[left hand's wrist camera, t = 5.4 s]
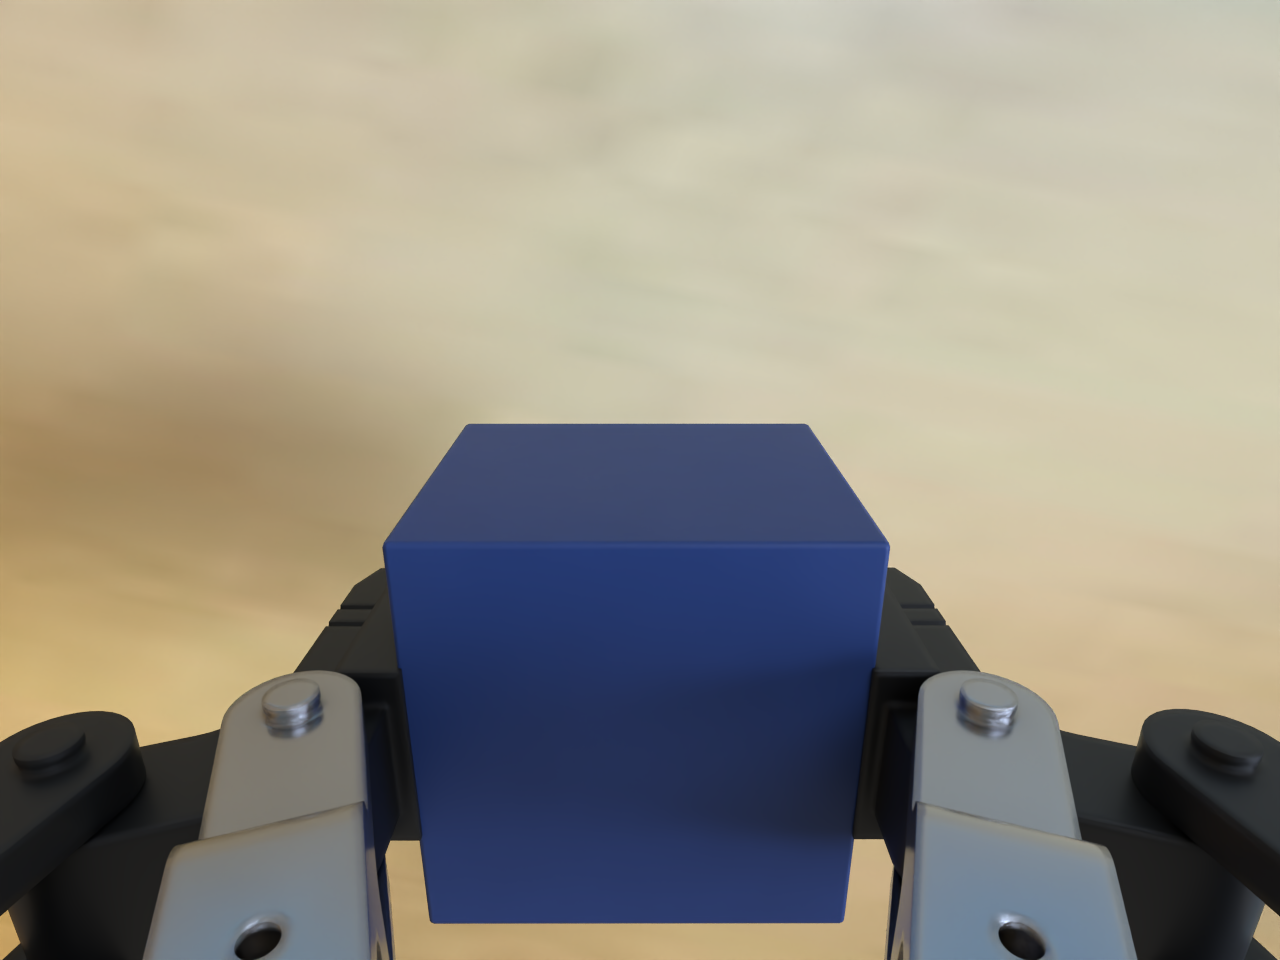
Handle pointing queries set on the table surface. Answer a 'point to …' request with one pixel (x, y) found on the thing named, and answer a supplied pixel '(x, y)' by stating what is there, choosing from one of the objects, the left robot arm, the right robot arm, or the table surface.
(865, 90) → the table surface
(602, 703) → the brick
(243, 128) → the table surface
